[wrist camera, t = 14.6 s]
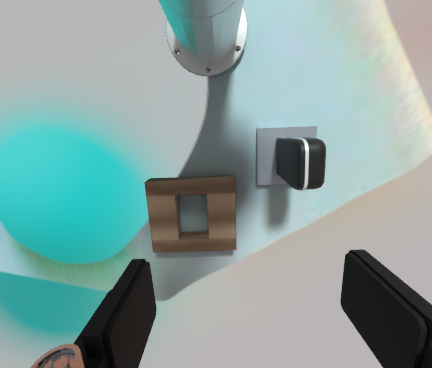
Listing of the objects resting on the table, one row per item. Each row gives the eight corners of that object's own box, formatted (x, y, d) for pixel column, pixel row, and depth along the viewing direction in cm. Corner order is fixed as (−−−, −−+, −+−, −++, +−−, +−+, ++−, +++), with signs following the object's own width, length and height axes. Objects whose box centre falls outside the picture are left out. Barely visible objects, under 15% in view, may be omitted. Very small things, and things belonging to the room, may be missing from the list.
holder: (149, 178, 40) (144, 182, 37) (233, 175, 40) (235, 179, 37) (157, 244, 43) (153, 252, 41) (235, 241, 43) (236, 250, 40)
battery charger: (297, 174, 39) (329, 192, 28) (276, 176, 39) (299, 194, 28) (298, 134, 37) (332, 137, 26) (275, 136, 37) (300, 139, 26)
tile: (256, 128, 38) (257, 128, 37) (314, 126, 38) (316, 126, 37) (256, 184, 40) (257, 185, 39) (310, 182, 40) (312, 183, 39)
